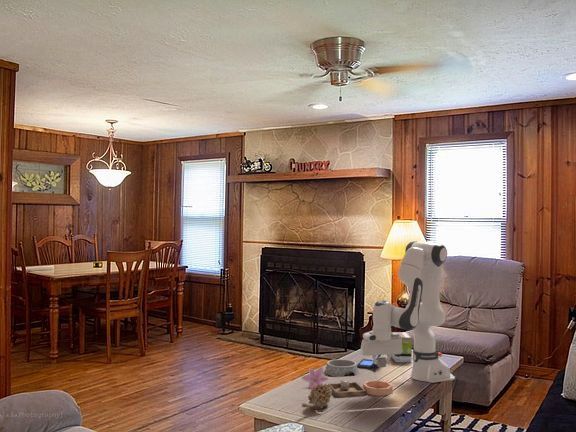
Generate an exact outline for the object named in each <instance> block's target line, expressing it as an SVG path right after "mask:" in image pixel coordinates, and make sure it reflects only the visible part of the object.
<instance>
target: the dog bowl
mask: <svg viewBox="0 0 576 432" xmlns="http://www.w3.org/2000/svg"><path fill="white" fill-rule="evenodd" d="M324 373H325V374H326V375H329V376H332V377H338V378H343V377H345V375H350V374H353V375H354V376H357V375H358V374H359V368H357V362H356V361H355V360H351V359H344V358H343V359H339V358H338V359H337V358H336V359H331V360H329V361H327V362H326V366H325V370H324Z"/></svg>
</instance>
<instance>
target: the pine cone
mask: <svg viewBox="0 0 576 432" xmlns="http://www.w3.org/2000/svg"><path fill="white" fill-rule="evenodd" d="M331 391H332V389H330V387H328V384H326V383H324V384H322V385H321V384H320V385H319V384H317V386H314V387H312V388H311V390H310V393H309V395H308V396H307V399H308V400H309V401H308V403H306V402H305V403H304V402H302V403H301V404H300V405H301V408H313V409H314V410H317V409H320V410H321V409H323V408H324V407H326V406H327V404H328V403H330V401H331V398H332V394H333V393H332V392H331Z"/></svg>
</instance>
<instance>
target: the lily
mask: <svg viewBox="0 0 576 432" xmlns="http://www.w3.org/2000/svg"><path fill="white" fill-rule="evenodd" d="M308 370H309V372H308V374H306V375H304V376H302V377H301V379H302V380H303V381H305V382H308V383H309V384H308V388H309V389H313V388H312V387H314V386H317V384H319V385H320V384H321V385H323V382H327V381H328V380H329V378H328V377H326V376H323V374H324V366H320V367H318V368H317V369H316V370H315V369H313V368H312V367H309V368H308Z"/></svg>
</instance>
